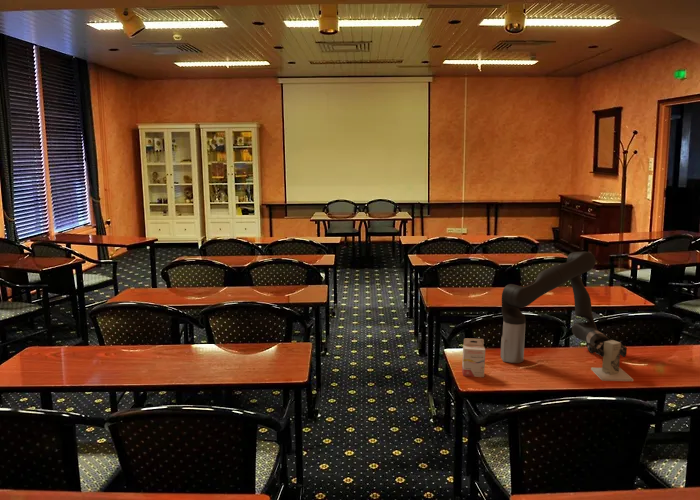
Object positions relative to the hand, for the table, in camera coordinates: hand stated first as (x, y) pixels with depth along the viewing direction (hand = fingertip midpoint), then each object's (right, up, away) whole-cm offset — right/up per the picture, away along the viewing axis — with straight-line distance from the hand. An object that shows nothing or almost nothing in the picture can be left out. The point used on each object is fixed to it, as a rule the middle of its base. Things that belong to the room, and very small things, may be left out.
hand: (613, 354), depth 224 cm
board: (0, -9, +2) cm, 9 cm away
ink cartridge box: (-56, -9, +3) cm, 57 cm away
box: (0, -8, +3) cm, 9 cm away
